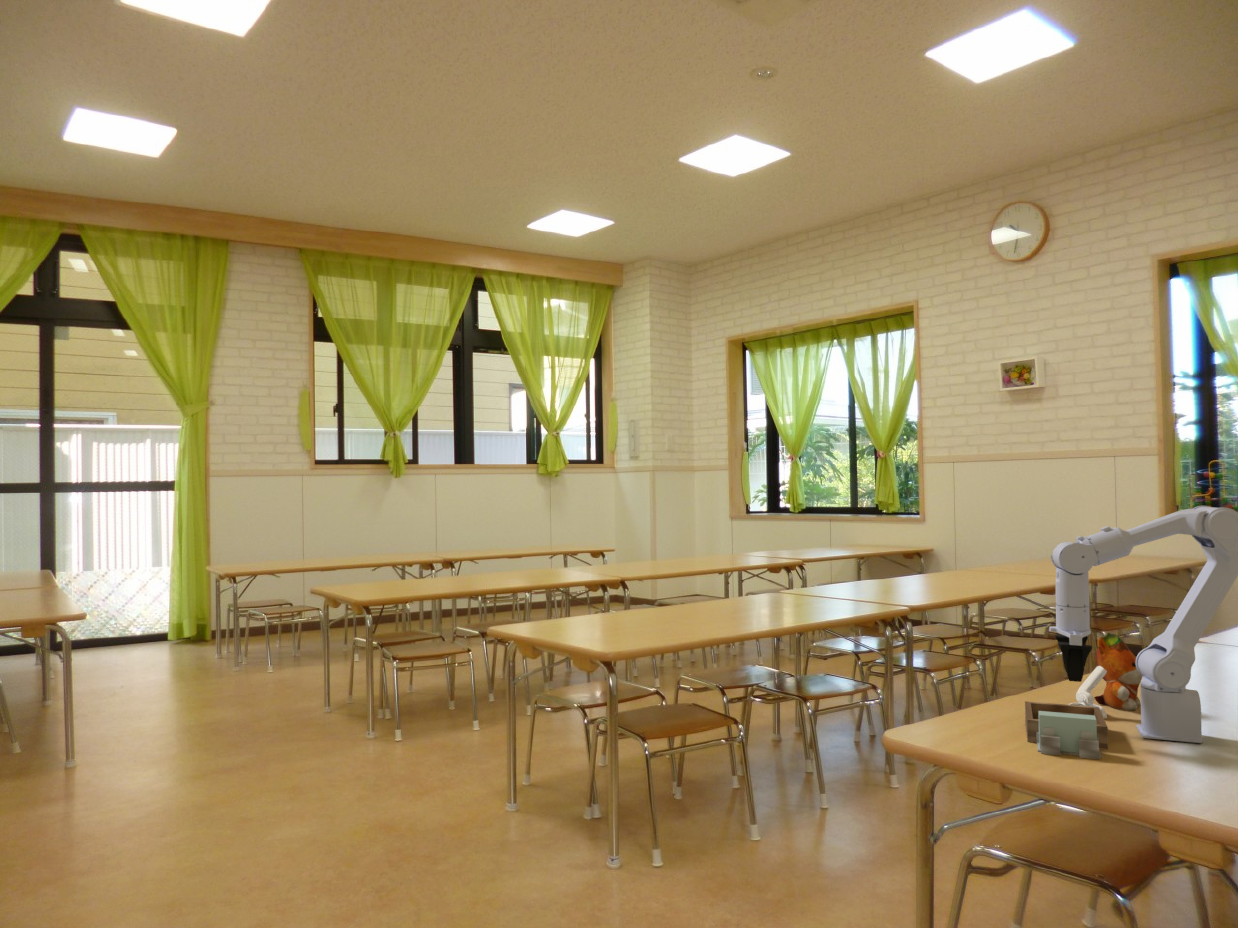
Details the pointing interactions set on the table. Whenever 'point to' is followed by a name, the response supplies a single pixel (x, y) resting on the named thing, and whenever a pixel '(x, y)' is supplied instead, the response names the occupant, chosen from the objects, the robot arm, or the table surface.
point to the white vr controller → (1085, 689)
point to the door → (1067, 728)
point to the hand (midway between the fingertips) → (1073, 676)
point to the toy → (1118, 673)
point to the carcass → (1053, 742)
